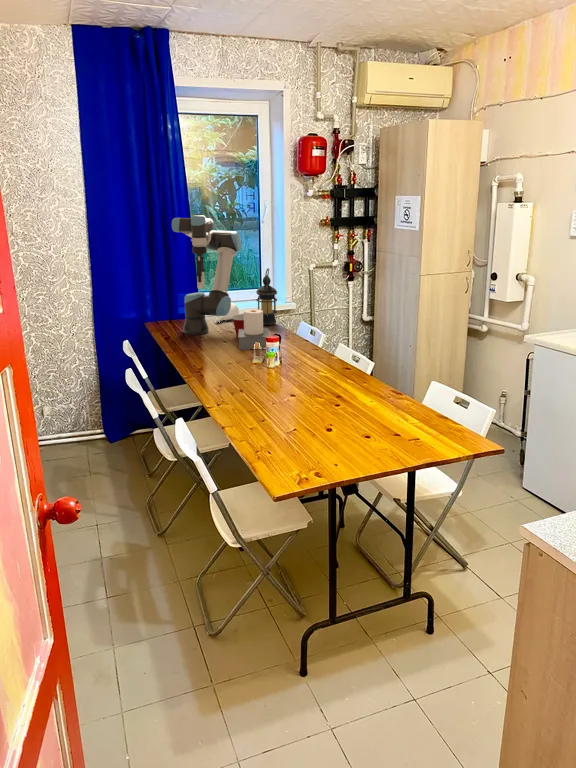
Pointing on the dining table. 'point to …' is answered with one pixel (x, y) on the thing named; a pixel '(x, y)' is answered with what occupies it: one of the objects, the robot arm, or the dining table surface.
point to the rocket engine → (232, 312)
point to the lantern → (267, 300)
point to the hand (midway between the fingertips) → (201, 286)
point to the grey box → (252, 339)
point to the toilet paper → (253, 322)
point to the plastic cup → (238, 322)
